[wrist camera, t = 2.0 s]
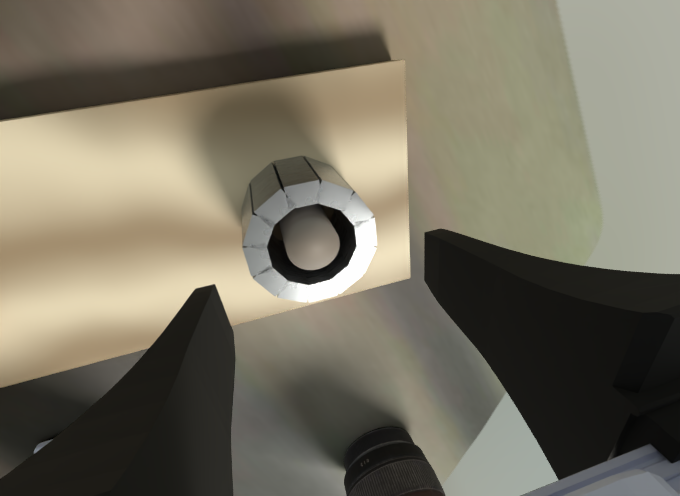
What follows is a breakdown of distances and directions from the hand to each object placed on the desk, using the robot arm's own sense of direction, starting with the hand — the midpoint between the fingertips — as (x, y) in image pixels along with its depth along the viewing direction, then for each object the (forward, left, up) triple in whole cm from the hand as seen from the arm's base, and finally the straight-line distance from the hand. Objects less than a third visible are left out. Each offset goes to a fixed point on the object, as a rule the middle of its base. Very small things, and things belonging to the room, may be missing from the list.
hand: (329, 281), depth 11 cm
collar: (0, 0, -7) cm, 7 cm away
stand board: (0, +9, -8) cm, 12 cm away
